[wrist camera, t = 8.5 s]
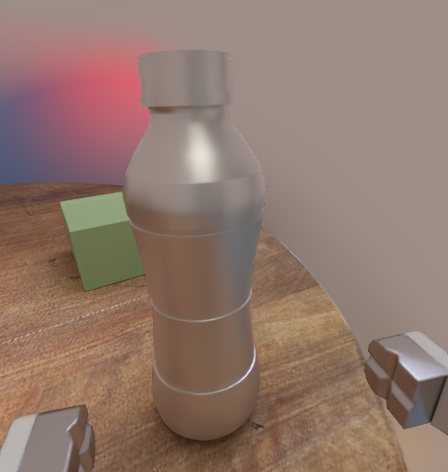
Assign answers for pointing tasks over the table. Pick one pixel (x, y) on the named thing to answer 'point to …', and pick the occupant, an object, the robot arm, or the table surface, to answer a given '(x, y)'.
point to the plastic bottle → (197, 241)
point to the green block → (101, 240)
